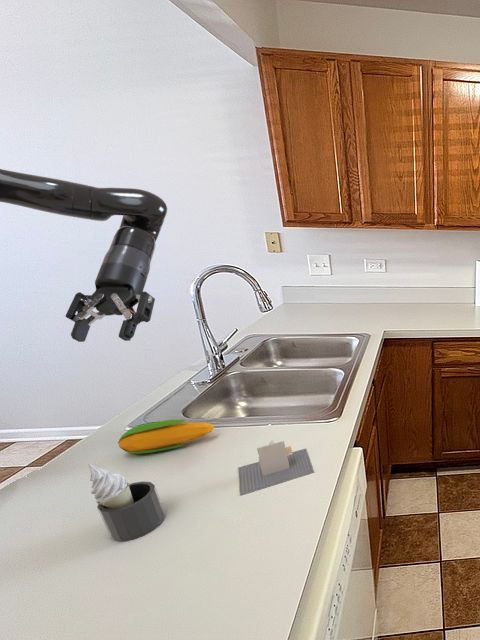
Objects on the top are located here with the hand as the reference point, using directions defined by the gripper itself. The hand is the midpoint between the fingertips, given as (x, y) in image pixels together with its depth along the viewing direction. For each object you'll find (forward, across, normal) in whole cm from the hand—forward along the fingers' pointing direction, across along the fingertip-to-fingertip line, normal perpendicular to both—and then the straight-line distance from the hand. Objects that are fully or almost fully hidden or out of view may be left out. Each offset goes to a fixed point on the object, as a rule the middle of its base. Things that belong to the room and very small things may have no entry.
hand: (101, 339), depth 78 cm
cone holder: (+34, +8, +12) cm, 37 cm away
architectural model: (+24, +28, +23) cm, 43 cm away
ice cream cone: (+34, +8, +12) cm, 37 cm away
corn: (+15, -2, +32) cm, 35 cm away
